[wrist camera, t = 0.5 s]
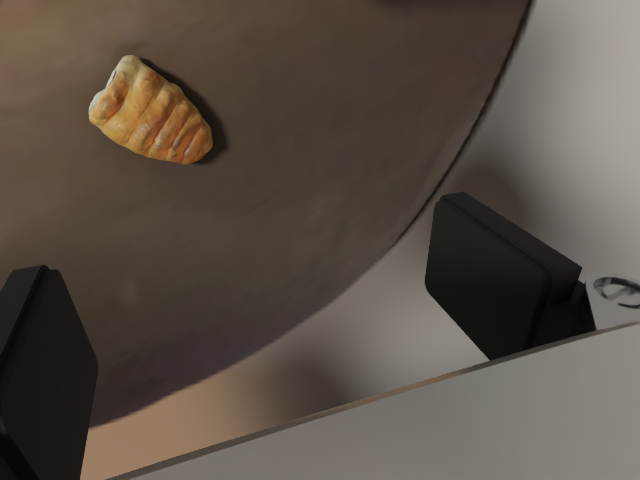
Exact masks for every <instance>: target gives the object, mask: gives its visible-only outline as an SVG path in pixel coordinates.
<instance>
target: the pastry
mask: <svg viewBox="0 0 640 480" xmlns="http://www.w3.org/2000/svg"><path fill="white" fill-rule="evenodd" d="M89 119H90V121H91V123H92V124H94V125H96V126H97V127H99V128H100V129H101V130H102V132H103V133H104V134H105V135H106V136H108V137H109V138H110V139H112V140H113V141H114V142H116V143H117V144H120V145H122V146H124V147H127V148H129V149H130V150H132V151H134V152H135V153H137V154H142V155H144V156H146V157H149V158H156V159H158V160H161V161H163V160H166V161H172V162H176V163H179V164H191V163H193V162H196V161H198V160H200V159H201V158H202V157H203V156H204V155H205V154H206V153H207V152H208V151H210V149H211V148H212V146H213V140H212V135H211V128H210V126H209V125H208V124H207V123H206V121H205V120H204V119H203V118H202V116H201V115H200V113H199V111H198V109H197V108H196V107H195V106H194V105H193V104H192V103H191V102H190V101H189V100H188V99H187V97H186V96H185V95H184V94H183V91H182V90H181V88H180V87H179V86H177V85H176V84H173V83H170V82H168V81H167V80H166V79H165V78H163V77H162V76H160V75H159V74H157V73H156V72H155V71H154V70H152V69H151V68H149V67H148V66H147V65H145V64H144V63H142V61H141V60H140V59H139V58H138V57H137V56H134V55H127V56H124V57H123V58H122V59H121V61H120V62H119V63H118V65H117V66H116V68H115V70H114V71H113V73H112V75H111V77H110V79H109V80H108V83H107V85H106V88H105V89H104V90H102V91H100V92H99V93H97V94H96V95H95V97H94V99H93V101H92V102H91V104H90V106H89Z"/></svg>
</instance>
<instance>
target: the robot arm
mask: <svg viewBox="0 0 640 480" xmlns="http://www.w3.org/2000/svg"><path fill="white" fill-rule="evenodd" d="M581 270H582V267H581V266H579V265H578V264H576V263H575V262H573V261H572V260H570V259H568V258H567V257H565V256H564V255H562V254H561V253H559V252H558V251H556V250H554V249H553V248H551V247H549V246H548V245H546V244H545V243H543V242H542V241H540V240H539V239H537V238H535V237H534V236H532V235H531V234H529V233H528V232H526V231H525V230H523V229H521V228H520V227H518V226H517V225H515V224H514V223H512V222H510V221H509V220H507V219H506V218H504V217H503V216H501V215H499V214H498V213H496V212H495V211H493V210H492V209H490V208H489V207H487V206H485V205H484V204H482V203H480V202H479V201H478V200H476V199H474V198H473V197H471V196H470V195H468V194H467V193H464V192H459V193H454V194H447V195H443V196H442V197H441V198H440V200H439V201H438V202H437V203H436V204H435V208H434V216H433V223H432V231H431V238H430V246H429V253H428V260H427V268H426V275H425V286H426V289H427V291H428V293H429V294H430V295H431V296H432V297H433V298H434V299H435V300H436V301H437V303H438V304H439V305H440V306H441V307H442V308H443V309H444V310H445V311H446V312H447V314H448V315H449V316H450V317H451V318H452V319H453V320H454V321H455V322H456V323H457V325H458V326H459V327H460V328H461V329H462V330H463V331H464V332H465V334H466V335H468V337H469V338H470V339H471V340H472V341H473V342H474V343H475V345H476V346H477V347H478V348H479V349H480V350H481V351H482V352H483V353H484V354H485V355H486V356H487V358H488V359H489V360H490V361H488V362H484V363H481V364H477V365H474V366H471V367H468V368H464V369H461V370H457V371H454V372H451V373H447V374H444V375H441V376H438V377H434V378H431V379H427V380H424V381H421V382H417V383H414V384H411V385H408V386H404V387H401V388H398V389H395V390H391V391H388V392H384V393H382V394H378V395H375V396H371V397H368V398H365V399H362V400H358V401H355V402H352V403H348V404H345V405H342V406H339V407H335V408H332V409H329V410H325V411H322V412H319V413H316V414H313V415H309V416H306V417H303V418H299V419H296V420H293V421H290V422H287V423H283V424H280V425H277V426H274V427H270V428H267V429H264V430H261V431H257V432H254V433H251V434H248V435H245V436H241V437H239V438H235V439H232V440H228V441H225V442H222V443H219V444H216V445H212V446H209V447H206V448H203V449H199V450H196V451H193V452H190V453H187V454H183V455H180V456H177V457H174V458H171V459H168V460H164V461H161V462H158V463H155V464H152V465H149V466H146V467H143V468H140V469H137V470H134V471H131V472H128V473H125V474H122V475H119V476H115V477H112V478H109V479H106V480H640V281H638V280H636V279H633V278H630V277H627V276H623V275H618V274H611V273H599V274H594V275H591V276H589V277H588V279H586V281H585V284H583V283H582V282H580V281H579V280H578V278H579V275H580V273H581ZM97 375H98V363H97V359H96V356H95V353H94V351H93V349H92V346H91V344H90V342H89V339H88V337H87V334H86V332H85V330H84V327H83V325H82V323H81V320H80V318H79V316H78V313H77V311H76V308H75V306H74V304H73V301H72V299H71V297H70V294H69V292H68V290H67V287H66V285H65V282H64V280H63V278H62V275H61V273H60V272H59V271H58V270H57V269H55V270H50V269H49V268H48V267H47V266H46V265H40V266H34V267H28V268H22V269H17V270H13V271H12V272H11V274H10V276H9V277H8V279H7V281H6V283H5V285H4V287H3V288H2V290H1V292H0V480H80V475H81V469H82V463H83V457H84V451H85V446H86V440H87V434H88V428H89V422H90V416H91V411H92V405H93V399H94V393H95V387H96V381H97Z"/></svg>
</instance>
